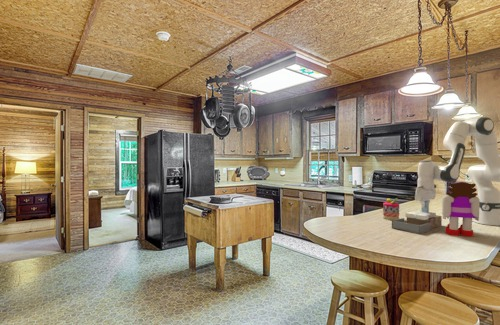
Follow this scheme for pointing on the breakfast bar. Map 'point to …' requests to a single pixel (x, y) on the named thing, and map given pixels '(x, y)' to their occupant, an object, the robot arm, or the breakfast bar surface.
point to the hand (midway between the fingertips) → (425, 207)
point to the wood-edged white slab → (426, 221)
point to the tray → (410, 226)
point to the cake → (391, 210)
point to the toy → (460, 208)
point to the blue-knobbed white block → (426, 211)
